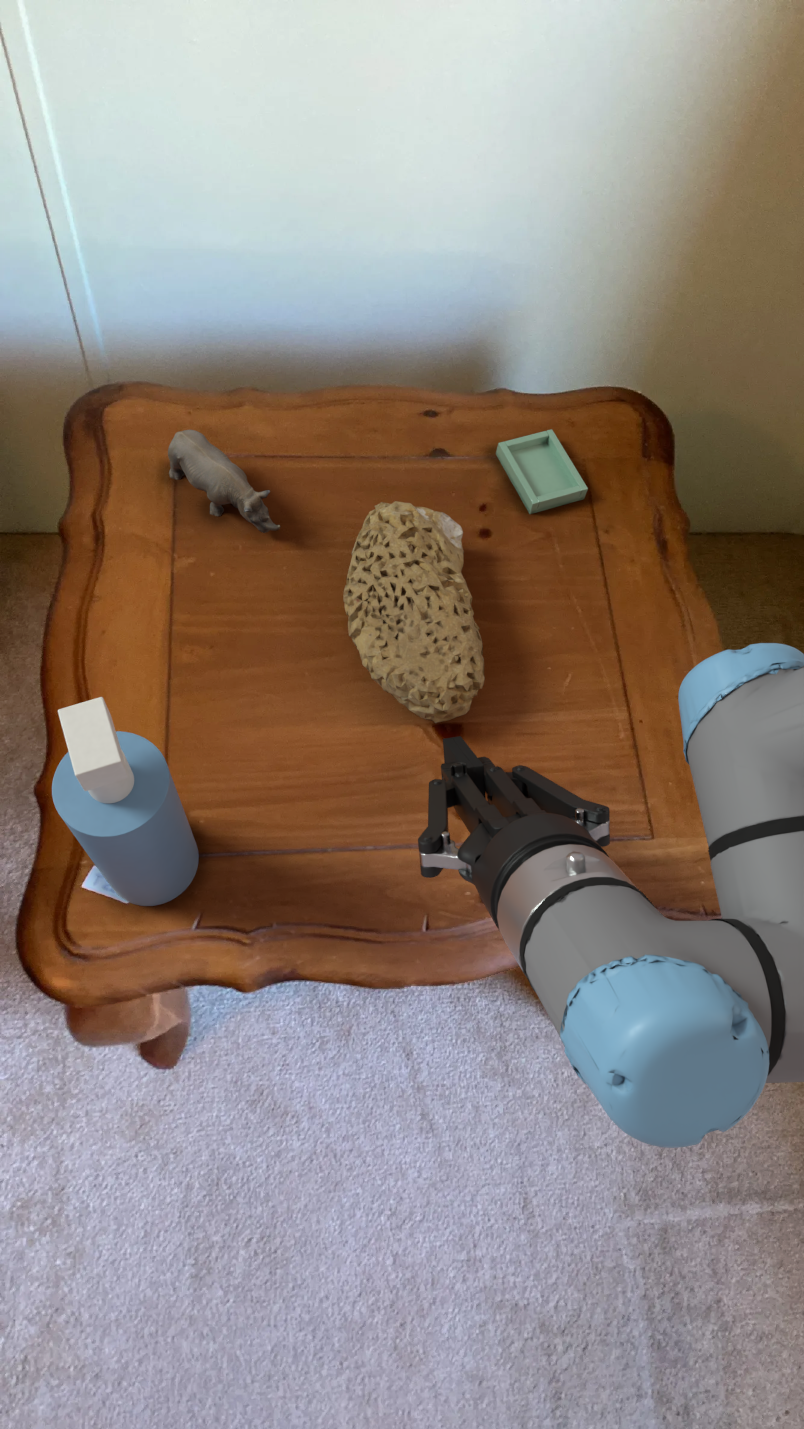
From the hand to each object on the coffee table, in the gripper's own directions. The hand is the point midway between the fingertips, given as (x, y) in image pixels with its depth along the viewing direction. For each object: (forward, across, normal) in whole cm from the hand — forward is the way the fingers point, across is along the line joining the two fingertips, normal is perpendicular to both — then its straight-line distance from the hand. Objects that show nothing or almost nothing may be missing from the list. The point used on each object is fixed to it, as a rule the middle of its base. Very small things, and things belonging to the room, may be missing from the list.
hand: (452, 753), depth 73 cm
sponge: (+12, 0, -7) cm, 14 cm away
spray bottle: (-1, +24, +5) cm, 25 cm away
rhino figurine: (+23, +15, -19) cm, 33 cm away
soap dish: (+23, -16, -18) cm, 33 cm away
